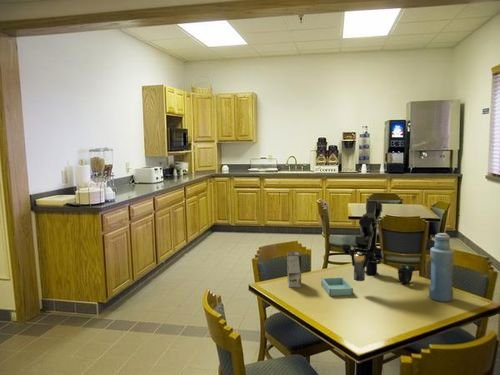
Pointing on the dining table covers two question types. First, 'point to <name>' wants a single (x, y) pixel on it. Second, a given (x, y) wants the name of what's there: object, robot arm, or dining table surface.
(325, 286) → the tray
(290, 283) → the coffee box
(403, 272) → the controller
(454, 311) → the dining table surface
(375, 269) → the robot arm
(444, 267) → the bottle
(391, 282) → the dining table surface
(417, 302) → the dining table surface
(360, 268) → the cylinder
